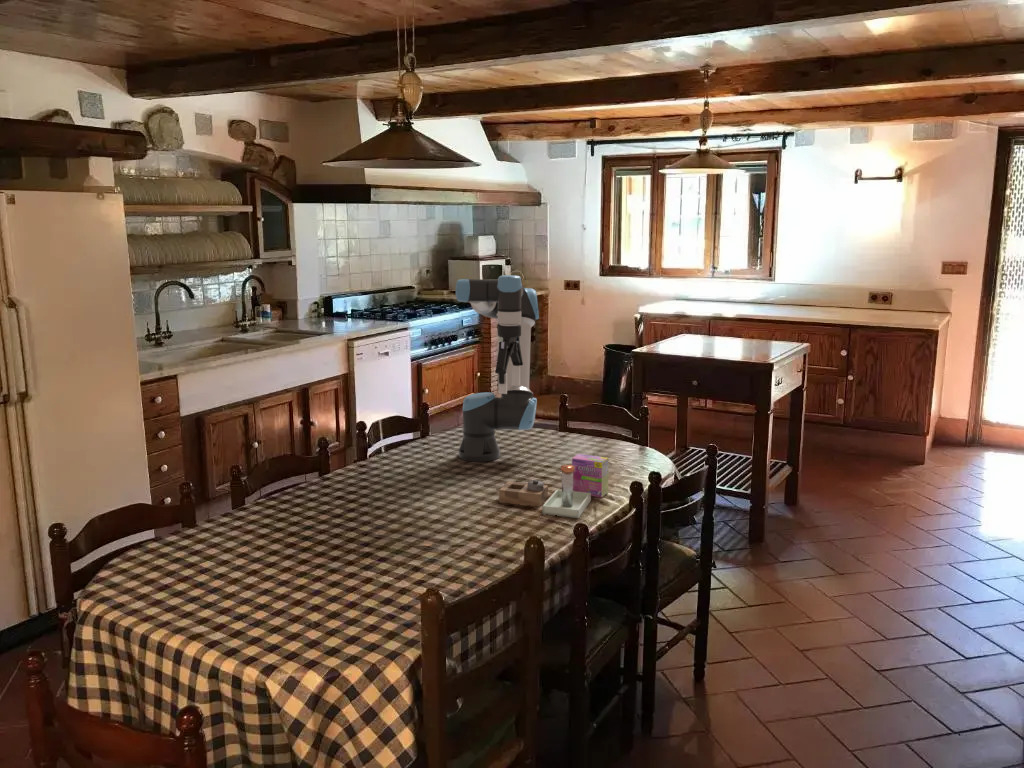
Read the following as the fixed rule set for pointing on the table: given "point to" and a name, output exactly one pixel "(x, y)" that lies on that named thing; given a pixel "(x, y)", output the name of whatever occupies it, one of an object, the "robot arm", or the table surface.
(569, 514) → the tray
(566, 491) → the pin
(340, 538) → the table surface
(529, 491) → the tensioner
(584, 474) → the box
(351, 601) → the table surface
